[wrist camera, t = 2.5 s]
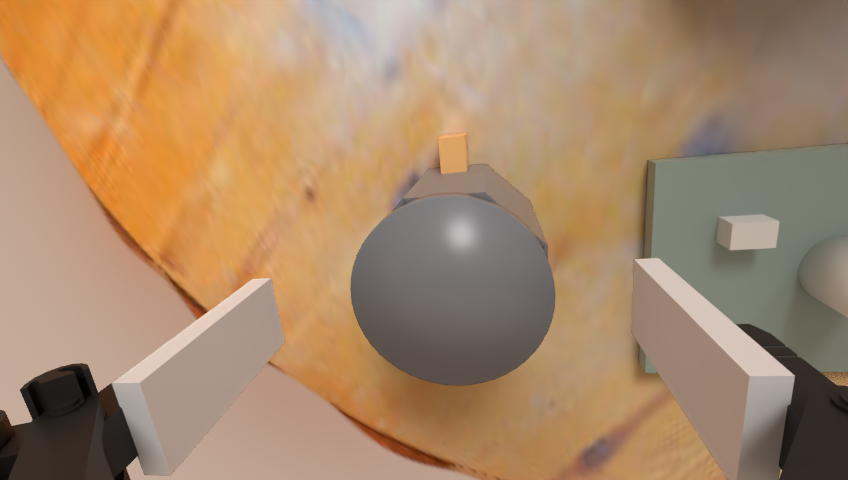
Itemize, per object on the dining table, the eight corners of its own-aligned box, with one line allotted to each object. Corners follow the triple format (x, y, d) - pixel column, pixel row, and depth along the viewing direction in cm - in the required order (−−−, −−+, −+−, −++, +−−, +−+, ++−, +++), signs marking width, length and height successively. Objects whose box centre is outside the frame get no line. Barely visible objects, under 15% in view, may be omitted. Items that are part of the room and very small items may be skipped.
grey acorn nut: (383, 141, 22) (327, 162, 14) (529, 126, 21) (552, 141, 13) (407, 320, 25) (371, 417, 17) (535, 317, 24) (557, 419, 16)
